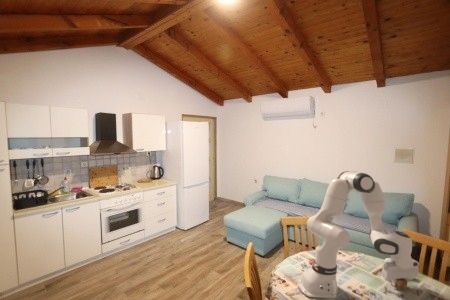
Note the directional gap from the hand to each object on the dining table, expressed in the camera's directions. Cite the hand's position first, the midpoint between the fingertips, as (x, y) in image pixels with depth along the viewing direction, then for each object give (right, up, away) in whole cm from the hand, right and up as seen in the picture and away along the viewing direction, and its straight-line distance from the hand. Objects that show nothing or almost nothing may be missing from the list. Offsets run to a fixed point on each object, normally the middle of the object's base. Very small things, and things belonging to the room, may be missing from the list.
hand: (399, 284), depth 125 cm
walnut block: (0, -2, 0) cm, 2 cm away
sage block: (+12, -1, +8) cm, 14 cm away
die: (+5, -1, +13) cm, 14 cm away
